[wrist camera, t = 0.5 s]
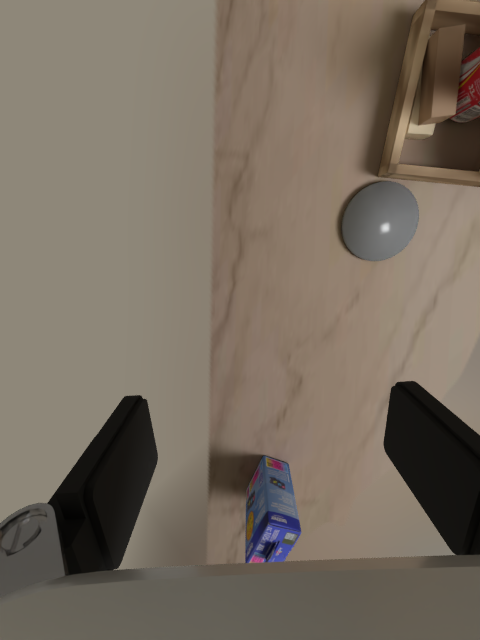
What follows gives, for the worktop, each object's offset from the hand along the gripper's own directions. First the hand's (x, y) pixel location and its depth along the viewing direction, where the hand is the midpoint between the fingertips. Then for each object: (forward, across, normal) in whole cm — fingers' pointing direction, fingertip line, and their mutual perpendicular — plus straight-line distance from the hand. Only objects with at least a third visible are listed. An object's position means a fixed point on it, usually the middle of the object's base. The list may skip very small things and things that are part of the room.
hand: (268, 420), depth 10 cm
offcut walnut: (+28, -22, -22) cm, 41 cm away
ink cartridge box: (+30, -2, +37) cm, 47 cm away
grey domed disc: (+30, -18, -7) cm, 35 cm away
